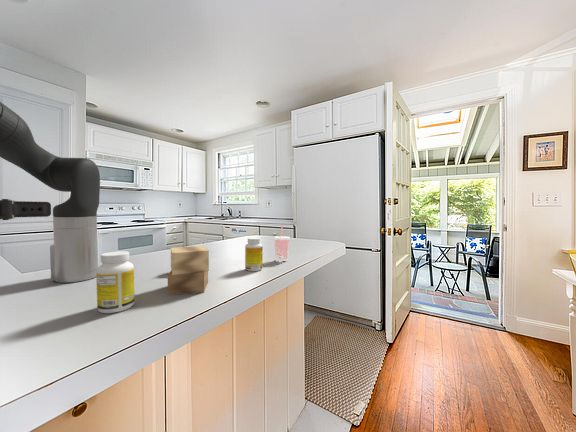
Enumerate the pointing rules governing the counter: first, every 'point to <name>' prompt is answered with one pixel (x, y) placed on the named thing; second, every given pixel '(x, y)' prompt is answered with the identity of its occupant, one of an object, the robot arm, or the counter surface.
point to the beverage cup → (281, 246)
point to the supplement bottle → (253, 254)
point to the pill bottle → (115, 282)
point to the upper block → (189, 259)
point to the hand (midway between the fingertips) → (38, 208)
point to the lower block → (187, 283)
